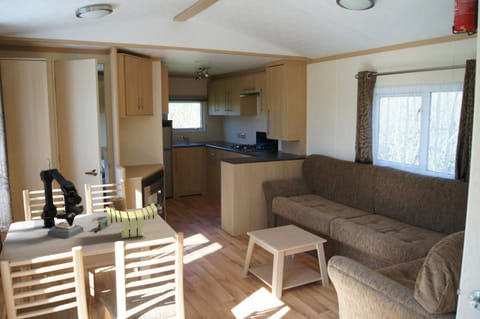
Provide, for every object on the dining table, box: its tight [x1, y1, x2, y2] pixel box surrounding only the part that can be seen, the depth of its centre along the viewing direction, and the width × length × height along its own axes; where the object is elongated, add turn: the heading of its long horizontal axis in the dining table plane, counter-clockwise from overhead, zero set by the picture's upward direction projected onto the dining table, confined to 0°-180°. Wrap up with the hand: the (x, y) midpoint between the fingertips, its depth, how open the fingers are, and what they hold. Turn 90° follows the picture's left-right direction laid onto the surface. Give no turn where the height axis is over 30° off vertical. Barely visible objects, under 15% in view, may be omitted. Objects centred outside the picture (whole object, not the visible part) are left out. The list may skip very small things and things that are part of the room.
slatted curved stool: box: [105, 202, 158, 239], centre depth 258 cm, size 30×16×18 cm, turn 110°
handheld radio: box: [94, 213, 113, 233], centre depth 274 cm, size 7×3×25 cm
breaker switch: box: [55, 221, 76, 229], centre depth 261 cm, size 10×6×1 cm, turn 74°
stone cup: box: [111, 196, 129, 218], centre depth 297 cm, size 15×12×15 cm
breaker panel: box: [47, 224, 84, 239], centre depth 261 cm, size 16×14×4 cm
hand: (71, 226), depth 259 cm, fingers closed, pressing on breaker switch
